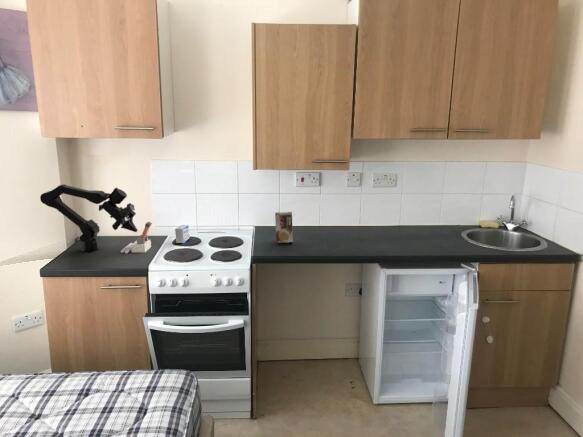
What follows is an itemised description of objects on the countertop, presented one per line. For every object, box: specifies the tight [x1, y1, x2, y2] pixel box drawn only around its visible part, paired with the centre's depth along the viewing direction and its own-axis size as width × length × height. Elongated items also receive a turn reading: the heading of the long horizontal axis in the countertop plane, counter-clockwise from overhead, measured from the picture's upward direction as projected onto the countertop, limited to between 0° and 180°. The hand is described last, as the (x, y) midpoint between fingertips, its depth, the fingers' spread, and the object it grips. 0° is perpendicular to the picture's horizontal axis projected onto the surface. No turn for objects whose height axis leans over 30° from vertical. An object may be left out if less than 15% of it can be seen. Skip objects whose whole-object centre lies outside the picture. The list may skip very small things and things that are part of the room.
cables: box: [120, 242, 134, 255], centre depth 234 cm, size 15×4×2 cm, turn 178°
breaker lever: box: [141, 221, 153, 239], centre depth 232 cm, size 2×3×10 cm, turn 0°
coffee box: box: [274, 211, 294, 243], centre depth 240 cm, size 9×6×16 cm
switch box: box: [131, 234, 152, 253], centre depth 233 cm, size 7×9×7 cm
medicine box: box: [174, 224, 190, 244], centre depth 245 cm, size 8×4×9 cm, turn 168°
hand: (136, 231), depth 232 cm, fingers closed
